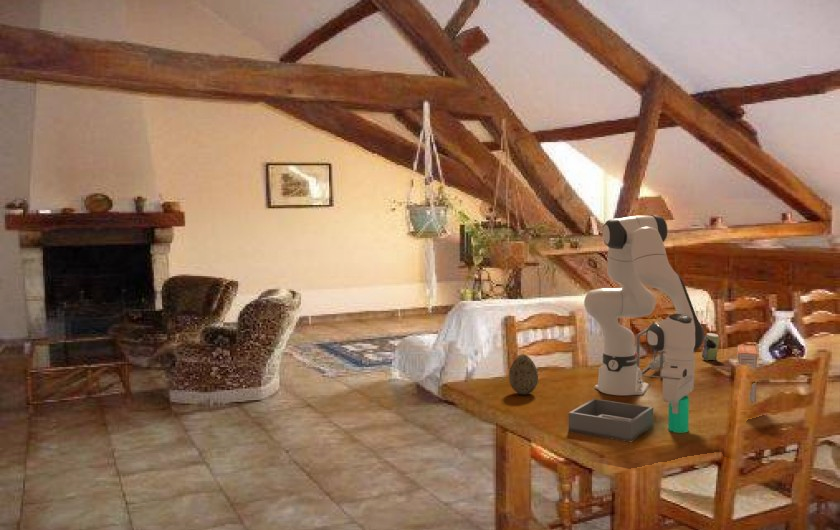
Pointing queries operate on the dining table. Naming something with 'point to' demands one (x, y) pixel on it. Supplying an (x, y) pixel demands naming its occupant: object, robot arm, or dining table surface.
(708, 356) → the beverage can
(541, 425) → the dining table surface
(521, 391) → the decorative egg
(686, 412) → the candle
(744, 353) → the cracker box
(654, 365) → the newton's cradle
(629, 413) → the walled box
